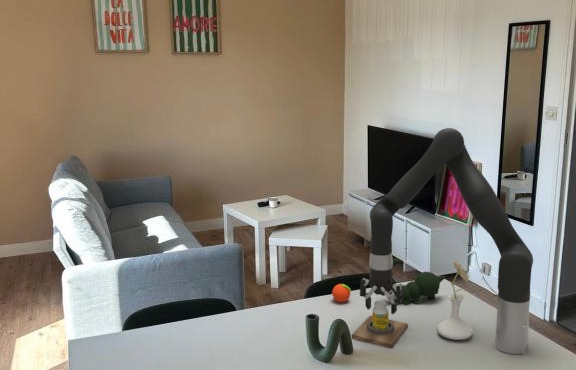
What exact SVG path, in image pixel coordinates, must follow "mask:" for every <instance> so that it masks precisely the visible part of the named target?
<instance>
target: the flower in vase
mask: <svg viewBox="0 0 576 370" xmlns="http://www.w3.org/2000/svg"><path fill="white" fill-rule="evenodd" d="M452 264H453V267H454V268H455V270H456V272H457V273H456V275H455V277H454V278H453V282H452V281H451V282H450V284H451V286H452V288H453V289H452V290H453V293H449V294H448V298H449V300H450V302H451V315H450V316H449V317H448V318H446V319H445V320H442V321H441V322H440V323H438V325H437V327H436V330H437V332H438V334H439V335H440V336H442V337H444V338H446V339H450V340H460V341H462V340H466V339H469V338H470V337H471V336H472V335H473V329H472V327H471V325H469V324H468V323H467V322H466V321H464V320H463V319H462V318H461V316H460V306H461V302H462V301H463V300H464V298H465V296H464V295H463V294H461V293H458V292H460V291H462V289H461V288H460V289H456V290H455V281H456V279H457V277H458V275H460V277H461V278H462V279H463V280H464V281H466V282H469V281H470V280H469V279H470V277H469V275H468V274H467V270H466V269H464V268H463V266H462V265H461V263H460V262H459V263H458V262H457V260H453V261H452Z"/></svg>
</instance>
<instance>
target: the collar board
mask: <svg viewBox="0 0 576 370" xmlns="http://www.w3.org/2000/svg"><path fill="white" fill-rule="evenodd" d="M372 322H373V321H372V315H369V316H368V317H367V318H366V319H365V320H364V321H363V322H362V324H360V325H359V326H358V327H357V329H355V330H354V331H353V333H351V339H352V340H356V341H360V342H362V343H363V342H364V343H368V344H372V345H376V346H381V347H384V348H388V349H393V348H394V346H395V345H396V344H397V343H398V341H399V340H400V339H401V338H402V337H403V335H404V333H406V331H407V330H408V328H409V323H407V322H403V321H398V320H394V319H390V318H388V329H386V330H377V329H374V328H373V323H372Z"/></svg>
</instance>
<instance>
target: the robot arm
mask: <svg viewBox="0 0 576 370" xmlns="http://www.w3.org/2000/svg"><path fill="white" fill-rule="evenodd" d="M444 165H446V167H447V168H448V170H449V171H450V172H451V175H452V177H453V178H454V182H455V183H456V186H457V188H458V191H459V193H460V194H461V195H460V196H461V198H462V200H463V201H464V203H465V205H466V207H467V208H468V210H469V212H470V214H471V215H472V217H473V218H474V220H475V221H476V222H477V223H478V224H479V225H480V226H481V228H483V229H484V230H485V231H486V232H487V233H488V234H489V236H490V237H491V239H492V240H493V243H495V246H496V247H497V251H498V253H499V255H500V259H499V262H498V269H497V271H498V272H497V292H498V293H497V307H496V308H497V309H496V322H495V323H496V326H495V340H494V341H495V342H494V343H495V344H494V345H495V348H496V349H497V350H499V351H501V352H503V353H506V354H509V355H523V356H524V355H525V354H526V352H527V349H528V343H529V342H528V341H529V327H530V319H529V318H530V317H529V316H530V315H529V313H530V305H531V304H530V301H531V300H530V299H531V283H532V282H531V280H532V269H533V264H534V258H533V254H532V251H531V250H530V249H529V248H528V246H527V244H525V242H524V241H523V239H522V238H521V237H520V235H519V234H518V232H517V230H515V228H514V227H513V225H512V222H511V221H510V219H509V216H508V213H506V210H505V208H504V207H503V205H502V203H501V201H500V199H499V197H498V195H497V194H496V193H495V190H494V189H493V187H492V185H491V184H490V183H489V181H488V180H487V178H486V177H485V176H484V175H483V173H482V172H481V171H480V170H479V168H478V167H477V166H476V164H475V163H474V161H473V160H472V158H471V156H470V154H469V151H468V150H467V147H466V145H465V138H464V136H463V133H461V132H460V131H459V130H457V128H456V129H455V128H451V127H446V128H443V129H441V130H439V131H438V132H437V133H436V134H435V135H434V137H433V140H432V143H431V144H430V146H429V147H428V149H427V150H426V151H425V153H424V154H423V155H422V157H421V158H420V159H419V160H418V161H417V162H416V164H414V165H413V167H411V168H410V169H409V170H408V171H407V172H406V173H405V174H404V175H403V176H402V177H401V178H400V179H399V180H398V182H397V183H396V184H394V186H393V187H392V188H391V189H390V190H389V192H388V193H387V194H385V195H384V196H383V197H382V198H380V200H378V201H377V202H376V203H375V204H374V205H373V206H372V208H371V209H370V211H369V220H370V233H371V235H370V242H369V245H370V247H369V250H370V251H369V262H368V265H369V279H367V277H363V278H362V279H361V280H360V284H359V296H360V297H363V298H364V299H365V300H364V302H365V305H364V306H365V307H366V310H370V309H371V308H372V297H371V296H372V295H373V294H375V295H377V296H378V295H379V296H380V295H381V296H383V297H385V296H386V298H387V299H388V300H389V301H390V303H391V304H390V314H391V315H394V314H396V312H397V311H398V304H401V302H403V301H402V300H403V294H402V285H403V284H402V283H398V284H396V283H395V284H393V282H392V279H394V277H393V276H394V274H393V270H394V269H393V267H394V266H393V259H394V258H393V241H392V237H393V229H394V228H393V227H394V226H393V225H394V217H393V216H394V215H395V214H396V213H397V212H398V211H399V210H401V209H404V208H405V207H407V206H408V205H409V203H411V201H413V199H414V198H415V197H416V196H417V195H418V194H419V192H420V191H421V190H422V189H423V188H424V186H425V185H426V184H427V183H428V182H429V181H430V180H431V178H432V177H433V176H434V175H435V174H436V173H437V172H438V171H439V170H440V169H441V168H442V167H444ZM367 285H368V286H369V287H370V288H371V289H370V290H369V291H368V292H367ZM392 288H394V289H395V291H396V296H397V298H396V297H395V295H394V292H393V291H392ZM389 293H390V294H389Z"/></svg>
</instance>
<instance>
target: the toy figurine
mask: <svg viewBox="0 0 576 370" xmlns="http://www.w3.org/2000/svg"><path fill="white" fill-rule="evenodd" d="M397 264H401V265H403V264H404V261H403V260H402V259H400V258H395V257H394V258H393V267H395V266H396V265H397ZM446 278H447V276H446V275H436V274H434V273H433V272H431V271H422V272H420V273H419V274H417V275H416V276H415V278H414V280H411V281H409V282H407V283H406V285H405V284H402V294H403V300H402V301H401V302H403V304H404V305H405V306H407V305H409V303H410V300H413V301H414V302H415V303H416V304H418V303H421V301H422V299H421V297H425V298H426V299H427V300H429V301H434V300H435V299H436V295H437V294H439V291H440V290H439V289H440V285H441V282H443V281H444V280H445V279H446ZM392 282H393V284H396V283H395V282H396V281H395V278H393V279H392ZM392 291H393V292H394V295H395V297H396V298H397V296H396V291H395V289H394V288H392ZM389 294H390V293H389Z"/></svg>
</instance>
